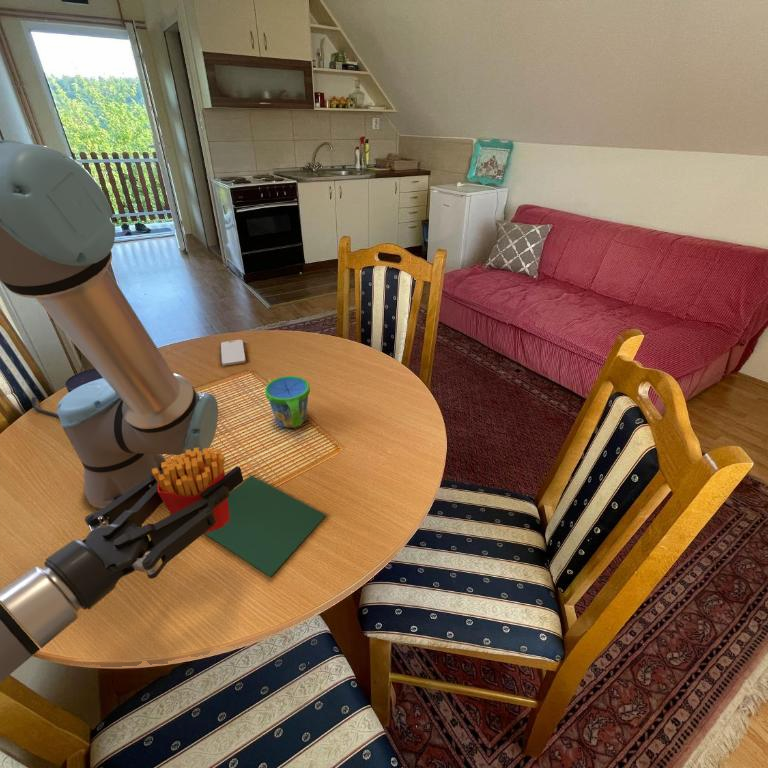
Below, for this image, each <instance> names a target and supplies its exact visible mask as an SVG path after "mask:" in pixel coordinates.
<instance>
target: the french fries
mask: <svg viewBox="0 0 768 768" xmlns="http://www.w3.org/2000/svg"><path fill="white" fill-rule="evenodd" d="M202 455H203V456H204V460H205V464H204V461H203V458H202ZM225 460H226V459H225V456H224V453H222V449H221V448H216V452H215V449H214V448H204V449H203V454H202V453H201V451H199V447H198V448H194V451H191V449H189V450H186V455H185V453H184V454H180V455H172V459H171V457H168V458H165V461H166V462H162V463H161V467H162V470H163V472H164V475H163V474H160V473H159V471H158V469H157V468H154V469H152V472H153V475H154V477H155V479H156V480H157V482H158V493H159V495H160V497H161V499H162V500H163V502H162V503H163V504H164V505H165V507H166V509H167V511H168V512H169V514H170V515H172V514H174V513H176V512H178V511H180V510H182V509H184V508H185V507H187V506H189V505H191V504H193V503H195V502H197V501H199V500H201V499H202V498H201V495H200V494H201V493H202V492H204V491H205V490H206V489H208V488H209V487H210V486H212V485H215V484H216V483H217V482H219V481H220V480H221V479H223V478H224V477H225V475H226V474H225V473H226V472H225V467H224V466H225ZM164 476H165V477H164ZM199 512H200V510H199ZM213 512H214V516H215V519H216V524H215V525H214V526H212V527H211V528H210V529H209V530H207V531H206V532H205V533H207V532H210V531H213V530H216V529H219V528H221V527H223V526H224V525H225V524H226V523H227V522H228V521H229V520H230V515H229V507H228V498H227V499H225V500H224V501H223V502H222V503H221V504H219V505H218V506H217V507H216V508H215V509H214V510H213Z"/></svg>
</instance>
